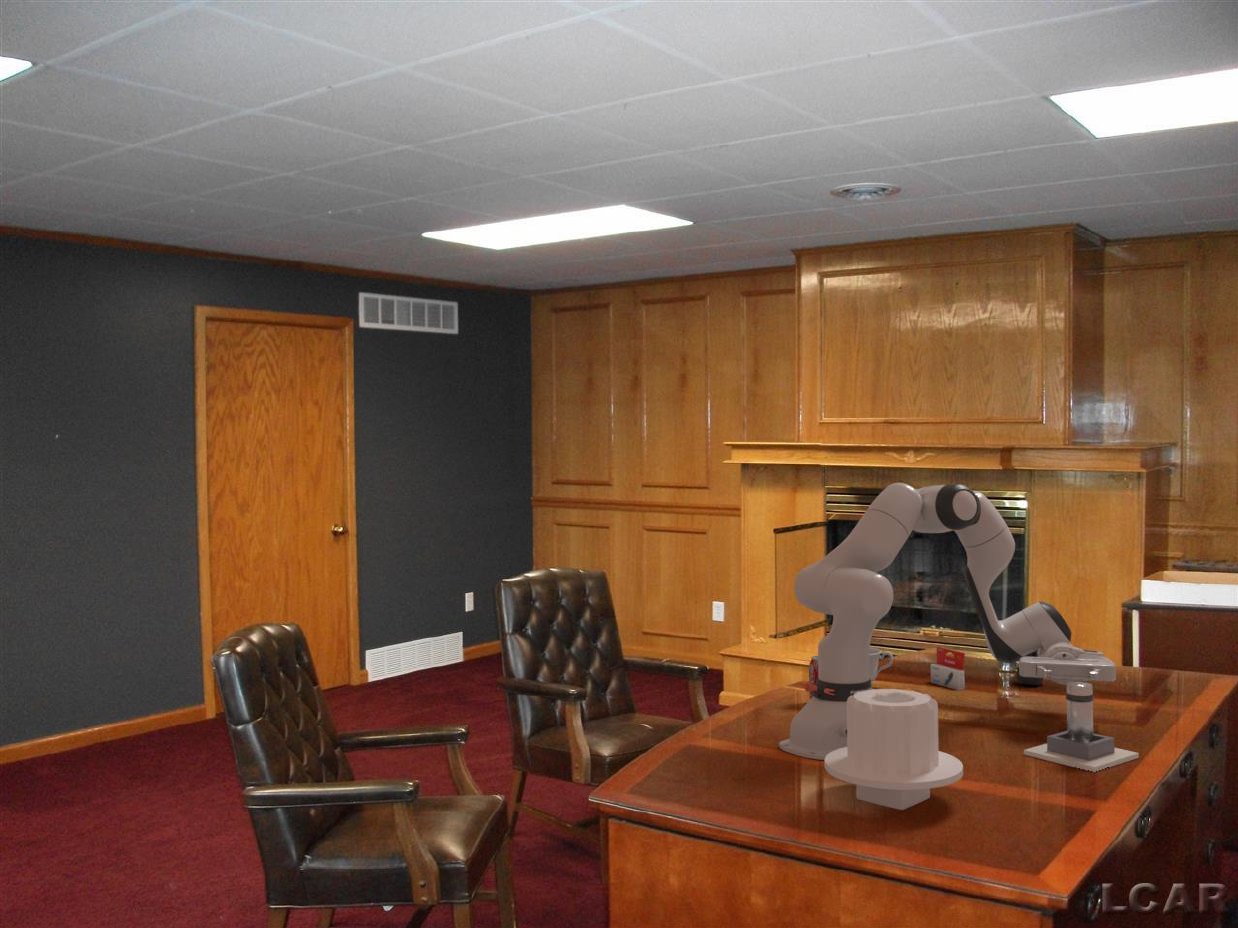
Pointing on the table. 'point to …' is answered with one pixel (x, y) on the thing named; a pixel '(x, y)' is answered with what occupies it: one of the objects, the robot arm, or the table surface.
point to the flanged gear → (893, 748)
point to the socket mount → (1082, 752)
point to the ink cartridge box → (948, 669)
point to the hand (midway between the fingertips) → (1070, 675)
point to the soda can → (813, 672)
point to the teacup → (874, 659)
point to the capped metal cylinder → (1079, 712)
